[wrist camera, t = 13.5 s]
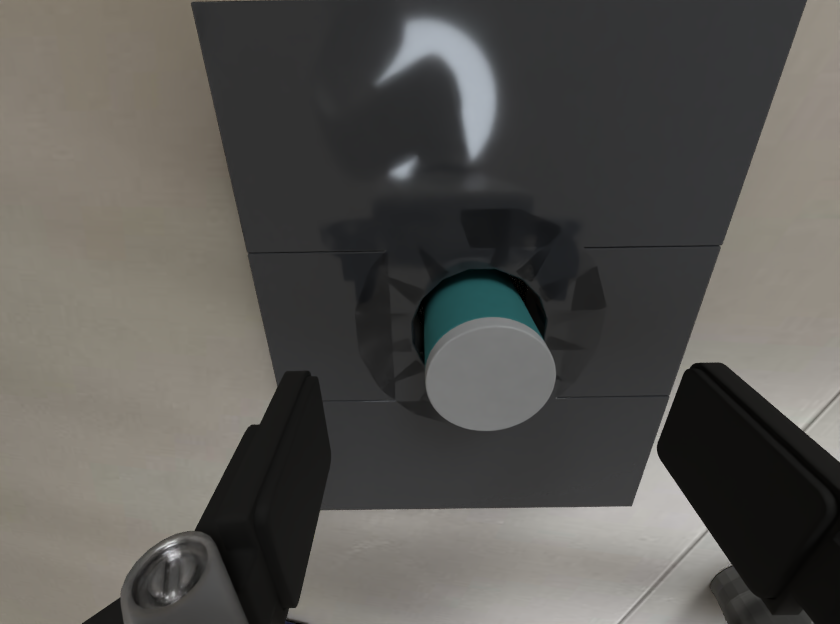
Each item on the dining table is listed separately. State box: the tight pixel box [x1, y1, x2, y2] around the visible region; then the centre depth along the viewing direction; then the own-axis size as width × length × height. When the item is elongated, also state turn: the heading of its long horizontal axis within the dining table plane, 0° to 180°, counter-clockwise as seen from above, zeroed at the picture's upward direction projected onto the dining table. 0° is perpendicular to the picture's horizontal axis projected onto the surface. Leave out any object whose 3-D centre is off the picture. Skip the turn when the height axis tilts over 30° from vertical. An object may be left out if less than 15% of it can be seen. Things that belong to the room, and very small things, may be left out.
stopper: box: [423, 269, 556, 431], centre depth 15 cm, size 4×4×6 cm
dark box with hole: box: [191, 0, 807, 510], centre depth 16 cm, size 20×16×3 cm
